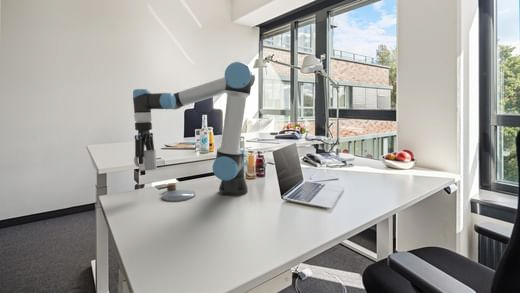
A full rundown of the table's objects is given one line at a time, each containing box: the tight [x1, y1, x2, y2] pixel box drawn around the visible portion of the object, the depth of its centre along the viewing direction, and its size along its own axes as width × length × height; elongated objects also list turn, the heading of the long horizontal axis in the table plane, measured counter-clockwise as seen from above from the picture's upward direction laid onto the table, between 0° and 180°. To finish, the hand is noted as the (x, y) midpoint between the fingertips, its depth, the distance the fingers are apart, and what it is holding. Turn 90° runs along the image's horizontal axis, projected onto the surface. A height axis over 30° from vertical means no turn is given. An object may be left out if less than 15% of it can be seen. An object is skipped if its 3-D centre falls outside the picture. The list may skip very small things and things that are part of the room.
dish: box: [161, 189, 196, 202], centre depth 143 cm, size 16×16×1 cm
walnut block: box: [166, 182, 177, 192], centre depth 151 cm, size 4×4×4 cm
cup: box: [133, 149, 158, 171], centre depth 138 cm, size 7×10×9 cm
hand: (146, 168), depth 139 cm, fingers closed on cup, 7 cm apart
